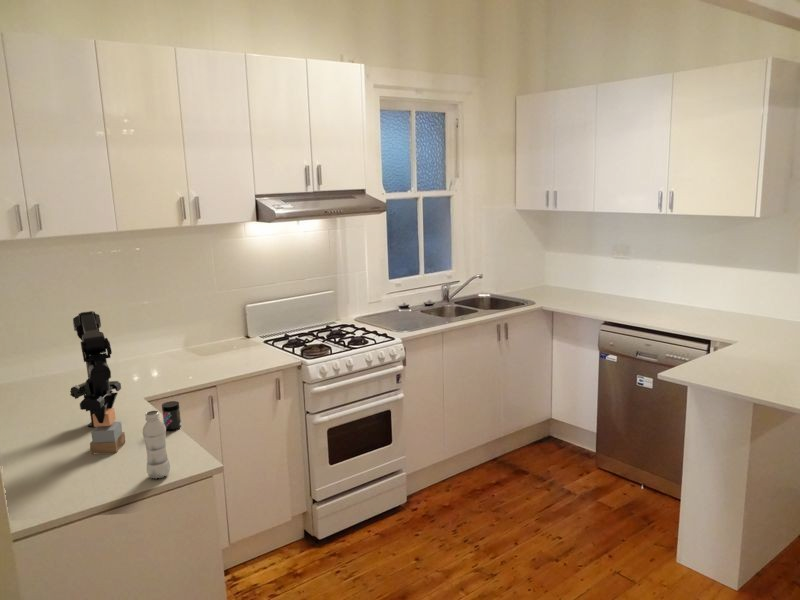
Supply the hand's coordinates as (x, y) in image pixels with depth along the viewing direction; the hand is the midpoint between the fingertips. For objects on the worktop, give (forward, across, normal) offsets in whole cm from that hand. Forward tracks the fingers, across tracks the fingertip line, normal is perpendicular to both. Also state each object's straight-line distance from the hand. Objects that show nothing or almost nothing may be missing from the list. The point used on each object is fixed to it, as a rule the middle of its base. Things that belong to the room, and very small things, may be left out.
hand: (104, 419), depth 206 cm
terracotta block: (+1, 0, 0) cm, 1 cm away
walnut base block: (+10, 0, 0) cm, 10 cm away
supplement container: (+10, -14, +17) cm, 24 cm away
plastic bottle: (+10, +22, +23) cm, 33 cm away
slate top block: (+6, 0, 0) cm, 6 cm away
